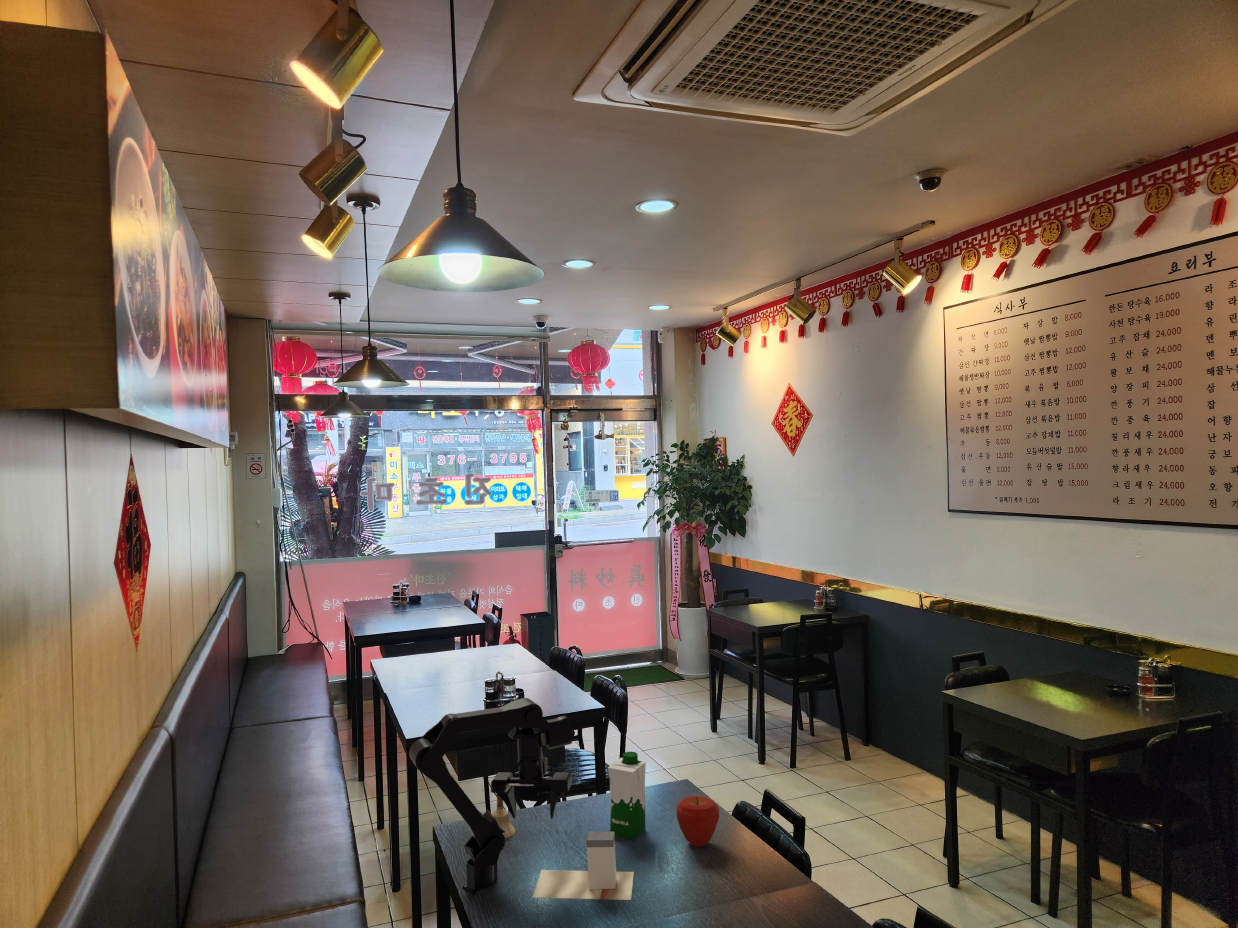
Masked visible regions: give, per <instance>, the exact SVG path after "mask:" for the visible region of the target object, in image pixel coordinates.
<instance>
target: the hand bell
mask: <svg viewBox="0 0 1238 928" xmlns="http://www.w3.org/2000/svg"><path fill="white" fill-rule="evenodd" d="M491 815H492V816H493V817H494V818H495V819H496V821H497V822H498V823H499V825H500V826H501V827H502V828H503V830H504V831H505V833H503V835H504V837H505V840H506V839H509V838H511V837H513V836H514V835H515V834H516V828H515V826H513V825H512V823H511V821H510V816H509V810H507V809H504V801H503V800H502V798H501V797H500V796H497V795H496V809H495V810H492V811H491Z"/></svg>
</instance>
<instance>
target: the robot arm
mask: <svg viewBox="0 0 1238 928" xmlns="http://www.w3.org/2000/svg"><path fill="white" fill-rule="evenodd" d="M501 727H509V728H510V727H511V728H512V729H511V730H510V731H509V732H508V733H507V735H508V737H509V738H511V739H512V740H514V741H515V740H516V742H517V743H516V744H517V745H516V746H517V759H518V760H517V762H516V763H517V767H518V777H514V776H513V775H514V774H513V772H509V771H504V772H501V771H499V772H497V773H496V774H495V775H494V777H493V779H491V781H490V792H491V793H493V794H496V797H497V796H500V797H501V798H502V800H503V804H505V806H506V807H507V809H508V812H509V813H510V814H511V816H512V817H511V818H512V819H516V818H517V807H516V806H517V805H516V799H515V787H550V790H551V793H550V794H549V795H550V796H549V797H550V798H549V802H550V803H549V816H550V819H551V820H553V819H554V816H555V812H556V808H557V804H558V801H559V799H560V797H563V796H564V794H566V793H569V792H570V788H571V787H572V784H573V779H572V778H573V776H572V775H571V773H570V772H567V771H566V772H565V771H561V772H557V771H556V772H554V774H553V776H552V777H544V776H545V775H546V774H547V772H548V765H549V764H548V763H549V762H548V761H549V760H548V758H549V757H544V754H543V750H542V749H543V747H542V746H544V747H546V748H547V749H548V750H552V749H557V748H560V747H564V746H569V745H571V744H572V743H573V739H574V734H573V731H572V727H571V725H570V724H569V717H568V716H565V715H561V716H559V717H556V718H552V719H546V718H545V716H544V712H543V710H542V707H541V706H540V705H539V704H538V703H537V702H534V701H533V700H532V699H530V698H529V697H522V698H519V699H516V700H512V701H510V702H508V703H507V704H505V705H503V706H500V707H493V708H486V709H480V710H472V711H471V710H470V711H465V712H459V713H451V712H450V713H447V714H445V715H444V716H443V717H442V718H440V720H439V722H437V723H436V724H435V725H433V726H432V727H431V728H430V729H428V730H427V731H426V732H425V733H424V735H422V737H421V738H420V739H417V740H415V741H414V742H413V743H412V744H411V747H410V748H409V752H408V755H409V758H410V759H411V761H412V763H413V764H414V766H415V767H416V768H417V770H418V771H419V772H420V773H422V775H424V776H426V778H428V779H429V780H430V781H432V782H433V783H435V784H436V786H437V787H438V788H439V789H440V790H441V791H442V794H444V796H445V797H446V798H447V799H448V801H449V802H450V804H451V805H452V806H453V807H454V809H455V810H456V811H457V813H459V815H460V816H461V817H462V819H463V820H464V822H465V823H466V824H467V827H468V829H469V832H470V835H471V837H469V839H468V840H467V841H466V842H465V844H464V845H463V849H464V851H465V853H466V855H468V857H469V859H468V860H467V861H466V862H465V863H466V868H465V869H466V872H465V873H466V882H463V883H462V888H464V889H466V890H467V891H469V892H471V893H473V894H475V895H476V894H477V893H478V890H479V889H480V890H482V889H486V888H489V887H490V886H493V884H494V882H495V881H496V880H497V879H498V877H499V876H498V861H499V859H500V855H501V852H502V851H503V850H504V847H505V844H506V839H505V837H504V835H503V833H505V831H504V830H503V828H502V827H501V826H500V825H499V823H498V822H497V821H496V819H495V818H494V817H493V816H492V815H491V814H492V812H490V811H489V809H487V810H486V811H485V812H484V813H482V812H481V811H479V810H478V808H477V807H476V806H475V804H474V803H473V801H471V799H470V798H469V797H468V795H467V794H466V793H465V791H464V789H462V788H461V786H460V784H459V783H458V782H457V781H456V780H455V778H454V777H453V776H452V774H451V773H450V772H449V769H448V766H447V764H446V762H445V760H444V756H445V755H446V754H447V752H448V751H449V749H450V747H451V745H452V743H453V742H454V740H455V738H456V737H458V735H459V734H464V733H469V732H470V733H471V732H478V731H484V730H489V729H495V728H497V729H498V728H501Z"/></svg>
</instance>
